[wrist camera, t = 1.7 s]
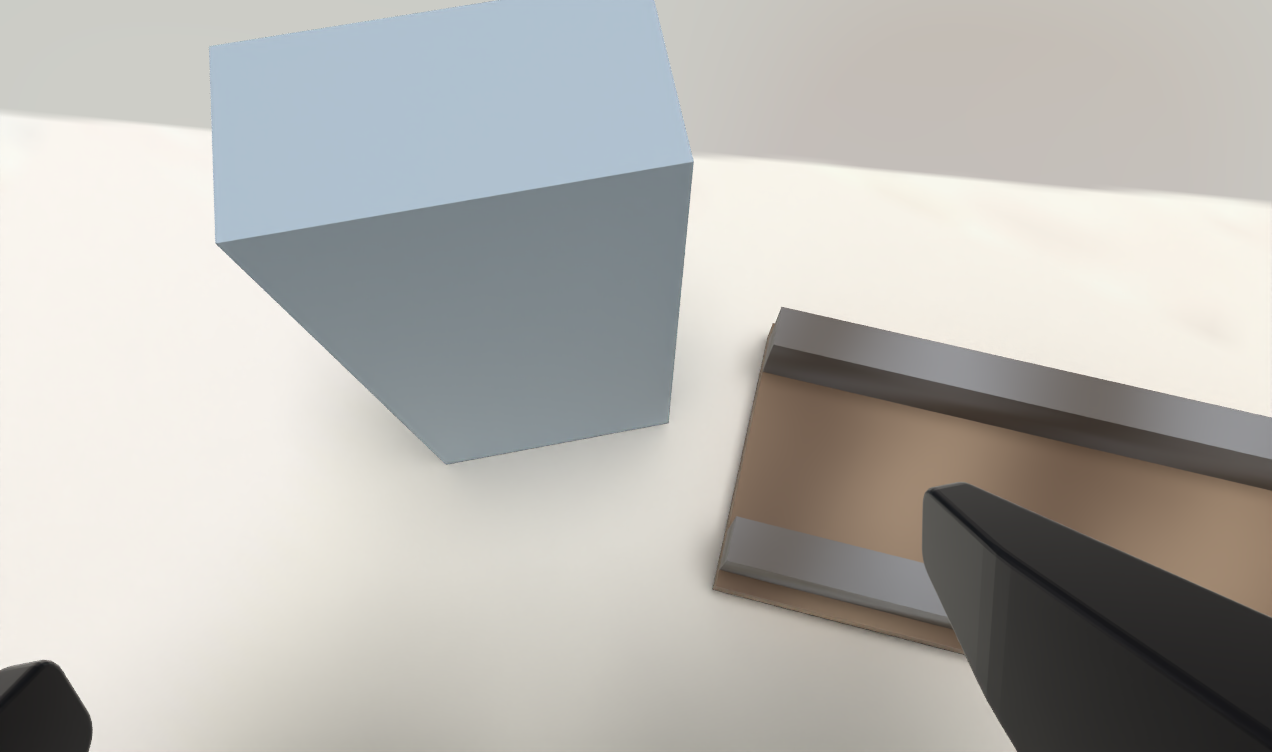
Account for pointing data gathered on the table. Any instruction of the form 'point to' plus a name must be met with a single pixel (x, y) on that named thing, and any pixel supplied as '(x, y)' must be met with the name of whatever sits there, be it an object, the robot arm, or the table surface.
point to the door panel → (468, 211)
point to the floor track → (974, 473)
